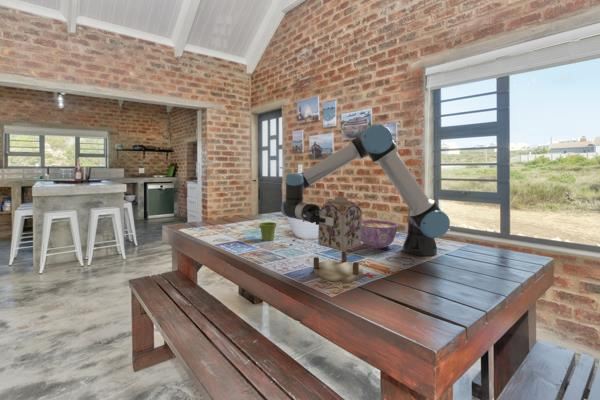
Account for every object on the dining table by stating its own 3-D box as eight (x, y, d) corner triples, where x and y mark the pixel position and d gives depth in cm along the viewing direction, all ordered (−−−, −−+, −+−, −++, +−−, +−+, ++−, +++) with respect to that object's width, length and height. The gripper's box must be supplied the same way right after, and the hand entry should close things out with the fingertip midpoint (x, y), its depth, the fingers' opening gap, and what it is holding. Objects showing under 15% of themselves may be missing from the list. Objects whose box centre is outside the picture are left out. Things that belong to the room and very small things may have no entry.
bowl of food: (387, 254, 146) (389, 229, 145) (348, 247, 158) (349, 223, 157) (403, 245, 162) (404, 223, 160) (366, 239, 174) (367, 218, 172)
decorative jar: (336, 240, 127) (338, 195, 125) (361, 245, 119) (363, 197, 117) (316, 245, 119) (318, 196, 117) (342, 251, 111) (344, 199, 109)
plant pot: (268, 242, 165) (268, 226, 164) (255, 240, 170) (255, 223, 169) (280, 239, 172) (280, 223, 171) (267, 236, 178) (267, 221, 177)
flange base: (354, 264, 130) (354, 250, 130) (369, 280, 113) (370, 264, 112) (309, 266, 128) (309, 251, 127) (318, 282, 110) (318, 265, 109)
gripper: (329, 218, 140) (368, 226, 123) (283, 224, 125) (320, 234, 108) (330, 201, 139) (369, 207, 122) (283, 205, 124) (320, 212, 107)
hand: (346, 220), depth 115 cm, fingers closed on decorative jar, 12 cm apart
